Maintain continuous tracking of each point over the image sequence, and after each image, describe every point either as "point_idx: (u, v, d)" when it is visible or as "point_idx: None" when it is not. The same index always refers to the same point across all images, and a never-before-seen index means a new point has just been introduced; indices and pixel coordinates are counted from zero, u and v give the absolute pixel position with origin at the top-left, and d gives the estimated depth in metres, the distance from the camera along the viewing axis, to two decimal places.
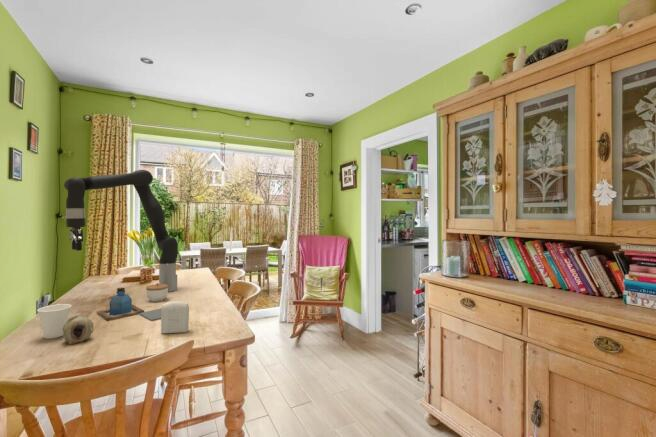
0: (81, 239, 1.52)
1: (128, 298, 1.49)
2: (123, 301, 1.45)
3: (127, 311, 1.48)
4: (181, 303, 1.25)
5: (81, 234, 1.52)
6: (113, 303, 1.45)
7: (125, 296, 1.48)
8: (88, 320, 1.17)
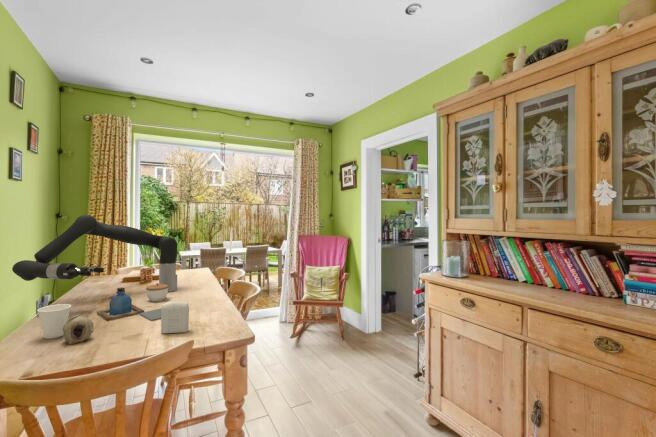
0: (73, 272, 1.40)
1: (128, 298, 1.49)
2: (123, 301, 1.45)
3: (127, 311, 1.48)
4: (181, 303, 1.25)
5: (68, 272, 1.40)
6: (113, 303, 1.45)
7: (125, 296, 1.48)
8: (88, 320, 1.17)
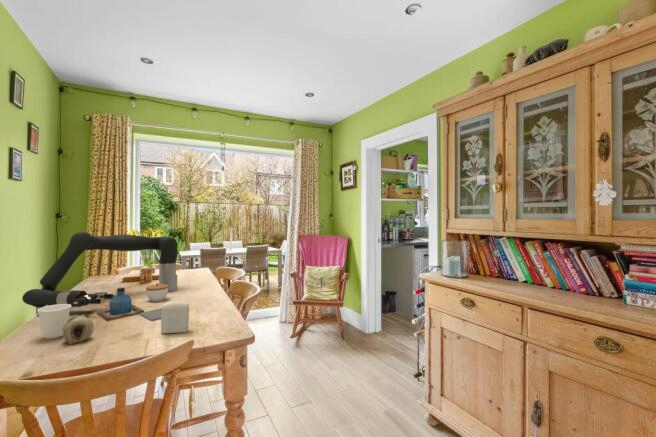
0: (83, 301, 1.41)
1: (128, 298, 1.49)
2: (123, 301, 1.45)
3: (127, 311, 1.48)
4: (181, 303, 1.25)
5: (78, 301, 1.40)
6: (113, 303, 1.45)
7: (125, 296, 1.48)
8: (88, 320, 1.17)
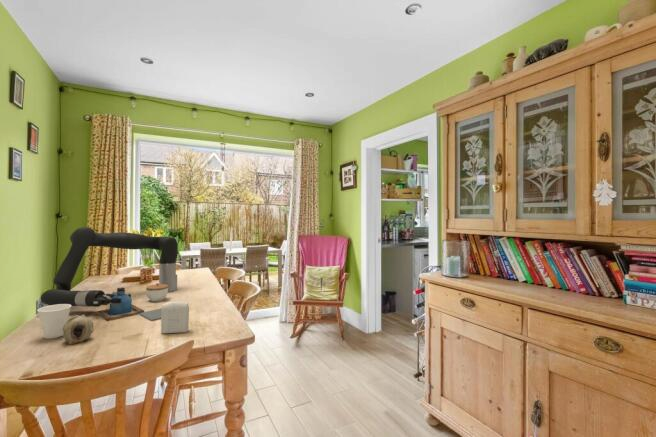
0: (104, 300, 1.41)
1: (128, 298, 1.49)
2: (123, 301, 1.45)
3: (127, 311, 1.48)
4: (181, 303, 1.25)
5: (98, 300, 1.41)
6: (113, 303, 1.45)
7: (125, 296, 1.48)
8: (88, 320, 1.17)
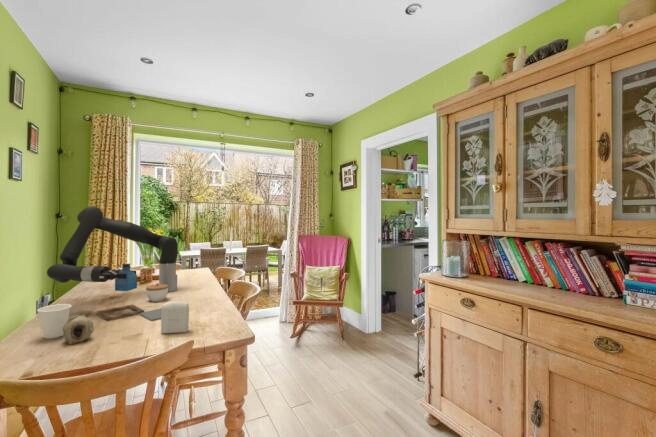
0: (110, 275, 1.41)
1: (133, 274, 1.49)
2: (129, 277, 1.45)
3: (132, 287, 1.48)
4: (181, 303, 1.25)
5: (104, 275, 1.41)
6: (119, 279, 1.45)
7: (130, 272, 1.48)
8: (88, 320, 1.17)
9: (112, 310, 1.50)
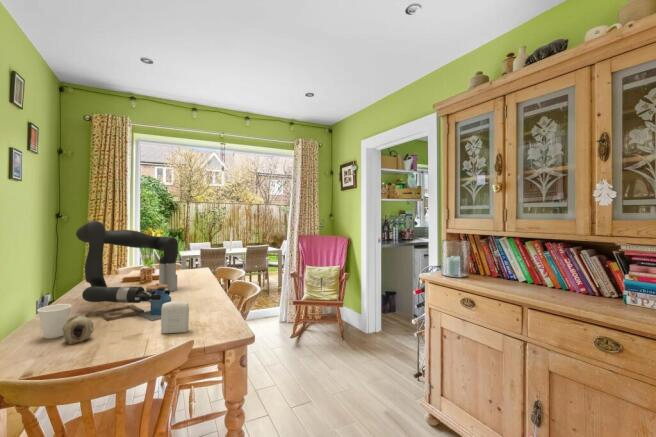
0: (145, 297, 1.41)
1: (168, 297, 1.49)
2: (164, 300, 1.46)
3: None
4: (181, 303, 1.25)
5: (139, 297, 1.40)
6: (155, 303, 1.45)
7: (165, 295, 1.48)
8: (88, 320, 1.17)
9: (112, 310, 1.50)
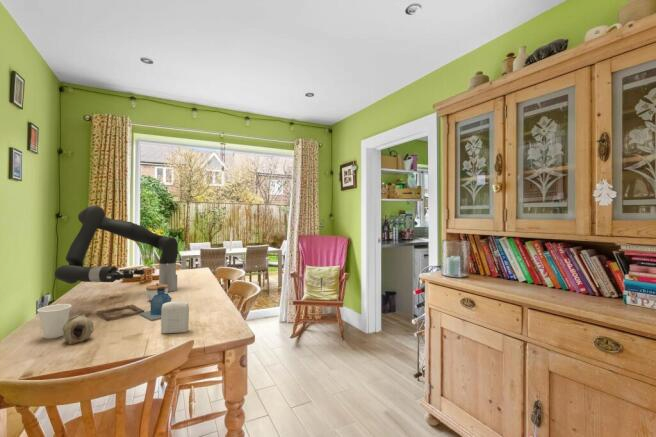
0: (117, 276, 1.40)
1: (168, 297, 1.49)
2: (164, 300, 1.46)
3: None
4: (181, 303, 1.25)
5: (111, 275, 1.40)
6: (155, 303, 1.45)
7: (165, 295, 1.48)
8: (88, 320, 1.17)
9: (112, 310, 1.50)
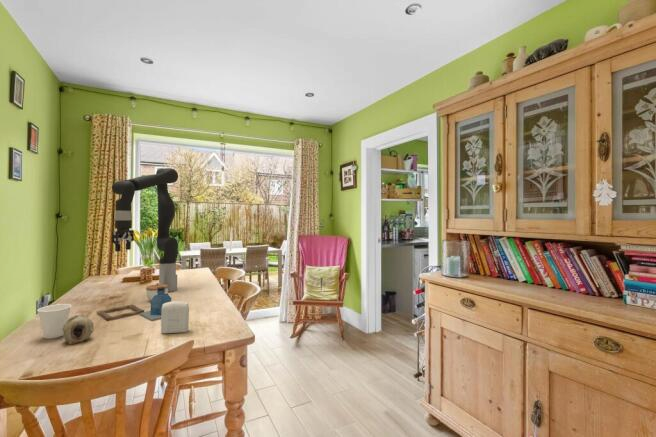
0: (115, 241, 1.55)
1: (168, 297, 1.49)
2: (164, 300, 1.46)
3: None
4: (181, 303, 1.25)
5: (115, 236, 1.55)
6: (155, 303, 1.45)
7: (165, 295, 1.48)
8: (88, 320, 1.17)
9: (112, 310, 1.50)
